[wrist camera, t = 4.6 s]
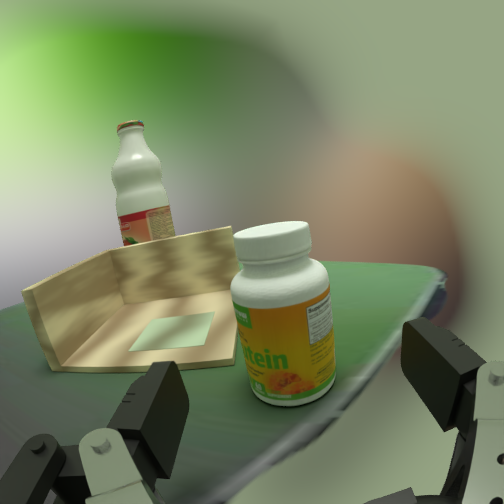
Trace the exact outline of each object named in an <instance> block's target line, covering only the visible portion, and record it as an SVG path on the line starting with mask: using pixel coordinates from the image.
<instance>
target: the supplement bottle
mask: <svg viewBox="0 0 504 504" xmlns="http://www.w3.org/2000/svg"><path fill="white" fill-rule="evenodd" d="M233 239H234V245H235V251H236V256H237V257H238V258H237V260H238V262H240V263H242V264H243V269H242V270H241V271H240V272H238V273H237V274H236V275H235V277H234V278H233V280H232V282H231V287H230V290H231V297H232V302H233V307H234V311H235V316H236V320H237V325H238V330H239V335H240V340H241V344H242V349H243V353H244V358H245V362H246V367H247V371H248V376H249V380H250V384H251V388H252V390H253V392H254V393H255V395H256V396H257V397H258V398H260V399H261V400H263V401H265V402H267V403H270V404H273V405H279V406H296V405H301V404H305V403H309V402H311V401H314V400H316V399H318V398H319V397H321V396H322V395H324V394H325V393H326V392H327V391H328V390H329V389H330V387H331V386H332V384H333V383H334V380H335V370H336V366H335V348H334V332H333V319H332V308H331V296H330V285H329V278H328V273H327V271H326V269H325V267H324V266H323V265H322V264H321V263H320V262H318V261H316V260H314V259H310V258H309V257H308V253H309V252H310V251H311V244H312V241H311V236H310V230H309V225H308V223H306V222H302V221H289V222H279V223H272V224H266V225H261V226H256V227H252V228H248V229H245V230H242V231H239V232H238V233H236V234H235V235H234V236H233Z"/></svg>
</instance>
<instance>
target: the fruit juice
mask: <svg viewBox="0 0 504 504" xmlns="http://www.w3.org/2000/svg"><path fill="white" fill-rule="evenodd" d="M143 131H144V125H143V122H142V121H140V120H133V121H128V122H124V123H122V124H120V125H118V127H117V133H118V136H119V137H120V148H119V154H118V157H117V159H116V161H115V163H114V165H113V167H112V172H111V175H112V181H113V184H114V186H115V188H116V191H117V198H116V209H117V216H118V220H119V225H120V230H121V234H122V239H123V243H124V246H129V245H134V244H139V243H144V242H149V241H154V240H159V239H164V238H169V237H174V236H175V231H174V226H173V222H172V217H171V211H170V206H169V201H168V196H167V193H166V190H165V188H164V187H163V185H162V182H161V177H162V166H161V163H160V160H159V159H158V157H157V156H156V155H155V154H153V153H152V152H151V151H150V150H149V148H148V146H147V144H146V142H145V140H144V137H143Z"/></svg>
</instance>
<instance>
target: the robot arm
mask: <svg viewBox="0 0 504 504" xmlns="http://www.w3.org/2000/svg"><path fill="white" fill-rule="evenodd" d="M401 367H402V371H403V373H404V375H405V377H406V378H407V379H408V381H409V382H410V384H411V385H412V386H413V388H414V389H415V391H416V392H417V393H418V395H419V396H420V398H421V399H422V401H423V402H424V403H425V405H426V406H427V408H428V409H429V411H430V412H431V414H432V415H433V417H434V418H435V419H436V421H437V422H438V424H439V425H440V427H441V428H442V430H443V431H444V432H446V431H448V430H451V429H453V428H454V427H457V428H458V430H459V432H458V434H457V438H456V442H455V447H454V451H453V455H452V459H451V463H450V467H449V471H448V474H447V478H446V481H445V484H444V486H443V488H442V491H441V493H440V495H423V496H415V495H414V493H413V491H412V488H411V487H410V488H407V489H405V490H402V491H399V492H396V493H393V494H390V495H387V496H384V497H381V498H378V499H374V500H371V501H368V502H366V503H364V504H504V362H502V361H491V362H486V361H485V360H483V359H482V358H481V357H480V356H479V355H478V354H477V353H476V352H474V351H473V350H472V349H471V348H470V347H469V346H467V345H465V343H464V342H463V341H462V340H460V339H458V337H457V336H456V335H454V334H453V333H452V332H450V331H449V330H447V329H444V328H441V327H439V326H437V327H436V326H434V325H433V324H432V323H431V322H430V321H429V320H428V319H426V318H425V317H421V318H418V319H414V320H411V321H407V322H405V323H404V324H403V329H402V347H401ZM188 412H189V398H188V394H187V392H186V389H185V386H184V383H183V381H182V378H181V375H180V372H179V369H178V366H177V364H176V362H175V361H160V362H153V363H152V364H151V366H150V368H149V370H148V371H147V373H146V375H145V376H141V377H139V378H138V379H137V380H136V381H135V382H133V383H132V384H131V386H130V388H129V389H128V391H127V393H126V395H125V396H124V398H123V399H122V403H120V405H119V406H118V408H117V410H116V412H115V413H114V415H113V417H112V419H111V420H110V422H109V424H108V426H107V427H106V428H101V429H97V430H94V431H92V432H90V433H88V434H87V435H86V436H85V437H83V439H82V440H81V442H80V444H79V445H72V446H60V445H59V443H58V442H57V440H56V439H55V438H54V437H53V436H52V435H49V434H39V435H36V436H33V437H32V438H30V439H29V440H28V441H27V442H26V443H25V444H24V445H23V447H22V448H21V450H20V451H19V453H18V454H17V456H16V457H15V459H14V460H13V462H12V463H11V465H10V466H9V468H8V469H7V471H6V472H5V474H4V475H3V477H2V478H1V480H0V504H43V503H44V501H45V499H46V497H47V495H48V493H49V491H50V489H51V490H52V491H53V492H54V493H55V494H56V495H57V496H56V499H55V501H54V503H53V504H166V503H165V501H164V499H163V498H162V496H161V495H160V493H159V491H158V490H157V488H156V487H155V482H156V479H157V478H161V479H170V477H171V473H172V469H173V466H174V462H175V458H176V455H177V451H178V447H179V444H180V440H181V437H182V433H183V430H184V426H185V422H186V419H187V415H188Z"/></svg>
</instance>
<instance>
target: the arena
mask: <svg viewBox="0 0 504 504" xmlns="http://www.w3.org/2000/svg"><path fill="white" fill-rule="evenodd" d="M238 272H240V269H239V263H238V260H237V256H236V251H235V245H234V239H233V231H232V226H228V227H223V228H217V229H212V230H206V231H202V232H196V233H190V234H185V235H180V236H174V237H169V238H164V239H159V240H154V241H149V242H144V243H139V244H134V245H129V246H124V247H119V248H115V249H110V250H106V251H103V252H101V253H99V254H96V255H95V256H92V257H90V258H88V259H86V260H83V261H81V262H79V263H77V264H75V265H73V266H71V267H68V268H66V269H64V270H62V271H60V272H58V273H56V274H54V275H52V276H50V277H48V278H46V279H44V280H42V281H40V282H38V283H36V284H34V285H32V286H30V287H28V288H26V289H24V290H22V291H21V292H22V295H23V298H24V302H25V305H26V308H27V311H28V313H29V316H30V319H31V322H32V325H33V327H34V330H35V332H36V335H37V338H38V340H39V342H40V345H41V347H42V350H43V352H44V354H45V357H46V359H47V361H48V363H49V365H50V368H51V370H52V371H61V372H91V373H123V372H147V371H148V370H149V368H150V366H151V364H152V363H153V362H160V361H175V362H176V364H177V366H178V369H179V370H187V369H199V368H210V367H220V366H229V365H234V361H235V353H236V345H237V336H238V325H237V320H236V316H235V311H234V307H233V302H232V297H231V290H230V287H231V282H232V280H233V278H234V277H235V275H236V274H237V273H238Z"/></svg>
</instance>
